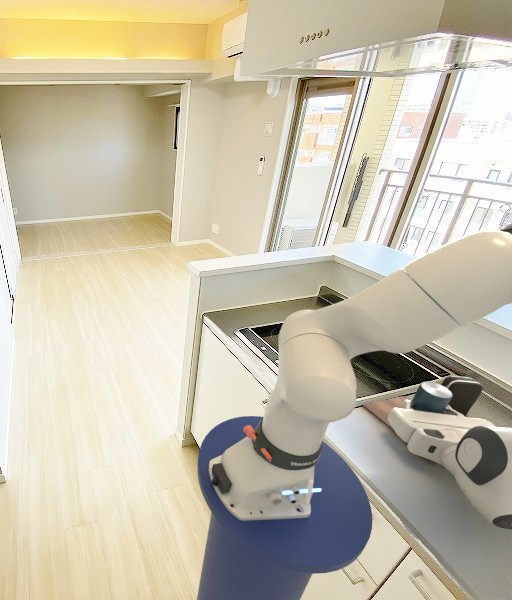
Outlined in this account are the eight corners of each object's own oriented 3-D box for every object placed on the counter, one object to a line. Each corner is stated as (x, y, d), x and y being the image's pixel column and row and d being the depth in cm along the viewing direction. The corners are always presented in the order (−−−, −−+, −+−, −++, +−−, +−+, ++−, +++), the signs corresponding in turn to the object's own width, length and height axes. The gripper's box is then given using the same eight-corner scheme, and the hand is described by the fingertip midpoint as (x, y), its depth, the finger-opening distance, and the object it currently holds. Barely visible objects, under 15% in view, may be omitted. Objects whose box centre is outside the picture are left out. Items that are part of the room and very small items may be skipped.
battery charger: (456, 407, 91) (476, 375, 86) (466, 418, 88) (487, 385, 83) (427, 404, 93) (444, 372, 87) (435, 414, 89) (454, 382, 84)
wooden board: (429, 461, 77) (430, 459, 77) (362, 406, 93) (363, 404, 93) (476, 448, 80) (477, 447, 79) (403, 397, 95) (404, 395, 95)
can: (419, 436, 83) (439, 400, 77) (396, 418, 88) (414, 383, 82) (438, 431, 84) (460, 395, 78) (415, 414, 89) (433, 379, 83)
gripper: (528, 448, 68) (480, 400, 80) (412, 432, 73) (382, 389, 85) (512, 468, 71) (468, 419, 83) (401, 451, 76) (374, 407, 88)
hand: (424, 403), depth 84 cm, fingers open, 7 cm apart
